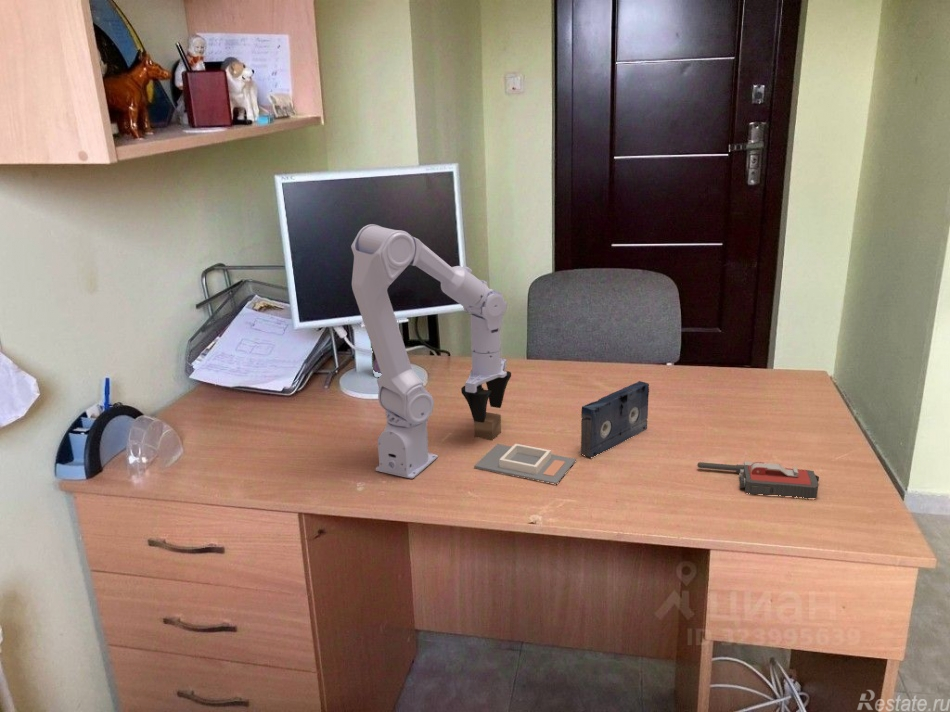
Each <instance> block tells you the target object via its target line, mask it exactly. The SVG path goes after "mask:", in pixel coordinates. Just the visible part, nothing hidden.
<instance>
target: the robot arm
mask: <svg viewBox="0 0 950 712" xmlns="http://www.w3.org/2000/svg"><path fill="white" fill-rule="evenodd" d="M350 247H351V251H352V254H353V265H352V266H353V267H352V277H351V288H352V293H353V296H354V298H355V300H356V304H357V308H358V311H359V313H360V315H361V318H362V321H363V324H364V327H365V330H366V333H367V336H368V339H369V343H370V346H371V345H372V348H373V351H374V354H375V356H376V359H377V362H378V365H379V368H380V371H381V374H382V375H381V376H380V377H379V378H376V383H377V385H378V393H377V394H378V395H377V399H378V404H379V405H380V407H382V408H383V409H384V410H385V416H386V424H385V427H384V429H383V431H382V432H381V433H380V434H379V436H378V439H377V450H378V451H377V452H378V453H377V454H378V462H379V465H377V466H376V467H375V471H376V472H381V473H385V474H389V475H393V476H398V477H403V478H406V479H414V478H415V477H417V476H418V475H419V474H420V473H421V472H422V471H424V470H425V469H427V467H428V466H429V465H431V464H432V463H433V462H434V461H435V460H436V459H437V458H439V457H438V455H437V454H435V453H431V452H429V445H428V444H429V443H428V422H429V419H430V417H431V415H432V413H433V410H434V406H435V401H434V397H433V396H432V394H431V393H430V392H429V391H427V389H426V388H425V385H424V382H423V381H422V379H421V378H420V377H419V375H418V374H417V373H416V372H415V371H414V369H413V367H412V365H411V362H410V359H409V355H408V353H407V349H406V346H405V343H404V340H403V336H402V334H401V330H400V328H399V324H398V322H397V318H396V315H395V312H394V309H393V304H392V303H391V300H390V296H389V292H388V288H389V287H390V285H392V283H393V282H394V281H395V280H396V279H397V278H398V277H399V276H400V275H401V273H403V272H404V271H405V269H406V268H407V267H408V266H413V267H414V266H415V267H417V268H418V269H420V270H421V271H423V272H424V273H426V274H428V275H429V276H431V277H432V278H433V279H435V280H437V281H438V282H440V289H441V291H442V293H444V294H445V295H446V296H447V297H449V298H450V299H452V300H454V301H455V302H456V303H457V304H459V305H461V306H462V307H463V310H464V311H465V313H468V314H469V315H470V317H469V319H470V322H469V323H470V348H471V349H470V351H471V352H470V353H471V354H470V355H471V369H470V372H469V374H468V375H469V376H468V378H467V380H466V381H465V383H464V385H463V386H462V387H461V394H462V395H463V397H464V399H465V400H466V402H467V404H468V407H469V409H470V413H471V416H472V419H473V422H474V421H476V422H481V423H483V422H484V421H485V418H486V412H487V406H488V402H489V405H490V407H491V408H497V409H500V408H502V405H503V401H504V395H505V392H506V388H507V385H508V383H509V381H510V379H511V378H512V372H511V371H508V370H507V369H508V366H507V364H508V363H507V362H508V360H507V359H505V358H502V339H501V338H502V337H501V336H502V334H501V327H502V325H503V318H504V315H505V313H506V311H507V307H508V302H506V300H505V299H504V295H503V294H502V292H500V291H499V290H495V289H492V288H489V286H488V282H487V281H486V280H483V279H479V278H478V277H476V276H475V275H474V274H473V273H472V272H473V270H472V269H471V268H470V267H468V266H464V265H463V266H461V265H456V266H450V264H448V263H447V262H446V261H445V260H444V259H443V258H441V257H439V255H437V254H436V252H434V251H433V250H431V248H429V247H428V246H427V245H426V244H424V243H423V242H422V241H421V240H420V239H419V238H416V237H414V236H412V235H411V234H410V233H408V232H407V231H405V230H400V229H399V230H398V229H392V228H387V227H383V226H381V225H378V224H373V223H371V224H367V225H365V226H363V227H362V228H361V229H360V230H359V231H358V233H357V235H356V236H355V238H354V240H353V242H352V244H351V246H350ZM485 383H486V387H487V389H484V387H483V384H485Z"/></svg>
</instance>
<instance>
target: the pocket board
mask: <svg viewBox="0 0 950 712" xmlns="http://www.w3.org/2000/svg"><path fill="white" fill-rule="evenodd" d="M575 461H576V462H577V458H573V457H567V456H563V455H558V454H552V450H551V449H546V448H540V447H534V446H531V445H530V446H529V445H524V444H519V443H514V444H513V445H512V446H510V445H507V444H506V445H505V444H499V443H497V444H496V445H495V446H493V447H492V448H491V449H490V450H489V451H488V452H487V453H486V454H485V455H484V456H483V457H481V459H480V460H478V462H477V463H475V464H474V465H473V468H474V469H476V468H477V469H476V470H480V469H483V470H482V471H485V470H487V471H486V472H490V471H492V472H491V473H495V472H497V473H496V474H499V473H503V474H502V475H504V474H508V475H507V476H509V475H514V476H519V477H525V478H529V479H534V480H539V481H544V482H549V483H554V484H557V483H558V482H559V481H560V480H561V478H562V477H563V476H564V475H565V473H566V472H567V471H568V470H569V469H570V467H571V466H572V465H573V464H574V463H575V464H576V462H575ZM575 464H574V465H575ZM574 465H573V466H574ZM573 466H572V467H573ZM572 467H571V468H572ZM570 470H571V469H570ZM570 470H569V471H570ZM569 471H568V472H569ZM568 472H567V473H568ZM514 476H513V477H514ZM565 476H566V475H565ZM565 476H564V477H565ZM564 477H563V478H564ZM561 481H562V480H561ZM561 481H560V482H561ZM560 482H559V483H560ZM559 483H558V484H559Z"/></svg>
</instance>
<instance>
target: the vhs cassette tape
mask: <svg viewBox="0 0 950 712" xmlns="http://www.w3.org/2000/svg"><path fill="white" fill-rule="evenodd" d="M649 396H650V384H649V383H647V382H645V381H640V380H639V381H637V382H636V383H633V384H630V385H628V386H625V387H623V388H622V389H619V390H616V391H614V392H611V393H609V394H608V395H605V396H602V397H601V398H599V399H598V400H596V401H592V402H589V403H587V404H585V405H583V406H581V414H580V415H581V421H580V423H581V424H580V427H581V429H580V432H581V433H580V434H581V435H580V454H583V455H585V456H587V457H586V458H589V457H590V458H591V457H594V456H596V455H597V454H600V453H602V452H603V451H605V452H607V451H609V450H610V448H611V449H613V448H615V447H616V445H617V446H618V445H621V444H622V443H625V442H626V441H628V440H629V438H630V439H632V438H634V437H635V436H637V435H639V434H641V433H642V432H645V431H646V430H648V419H649V418H648V417H649ZM633 436H634V437H633ZM631 437H632V438H631ZM627 439H628V440H627ZM625 440H626V441H625ZM614 446H615V447H614ZM612 447H613V448H612ZM608 449H609V450H608ZM606 450H607V451H606ZM603 453H604V452H603ZM603 453H602V454H603ZM583 455H582V456H583ZM600 455H601V454H600ZM585 456H584V457H585ZM596 457H597V456H596ZM590 458H589V459H590ZM594 458H595V457H594Z"/></svg>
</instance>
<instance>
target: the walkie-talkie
mask: <svg viewBox="0 0 950 712" xmlns="http://www.w3.org/2000/svg"><path fill="white" fill-rule="evenodd" d="M696 466H697V468H699V469H709V470H721V471H731V472H732V471H733V472H734V471H735V472H736V473H738V478H739V488H740V489H744V488H745V489H744V494H746V493H748V494H749V493H750V494H763V495H778V496H779V495H781V496H792V497H796V496H797V497H802V498H803V497H804V498H816V497H817V498H818V491H819V481H820V477H819V476H818V475H816V474H815V471H814V470H810V469H809V470H808V469H800V468H799V469H798V467H797V466H793V467H792V468H786V467H783V466H782V465H780V464H779V463H772V462H761V461H760V462H759V461H756V462H751V461H743V464H726V463H725V464H723V463H715V462H714V463H712V462H701V461H700V462H698V463H697V465H696ZM748 494H747V495H748Z"/></svg>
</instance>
